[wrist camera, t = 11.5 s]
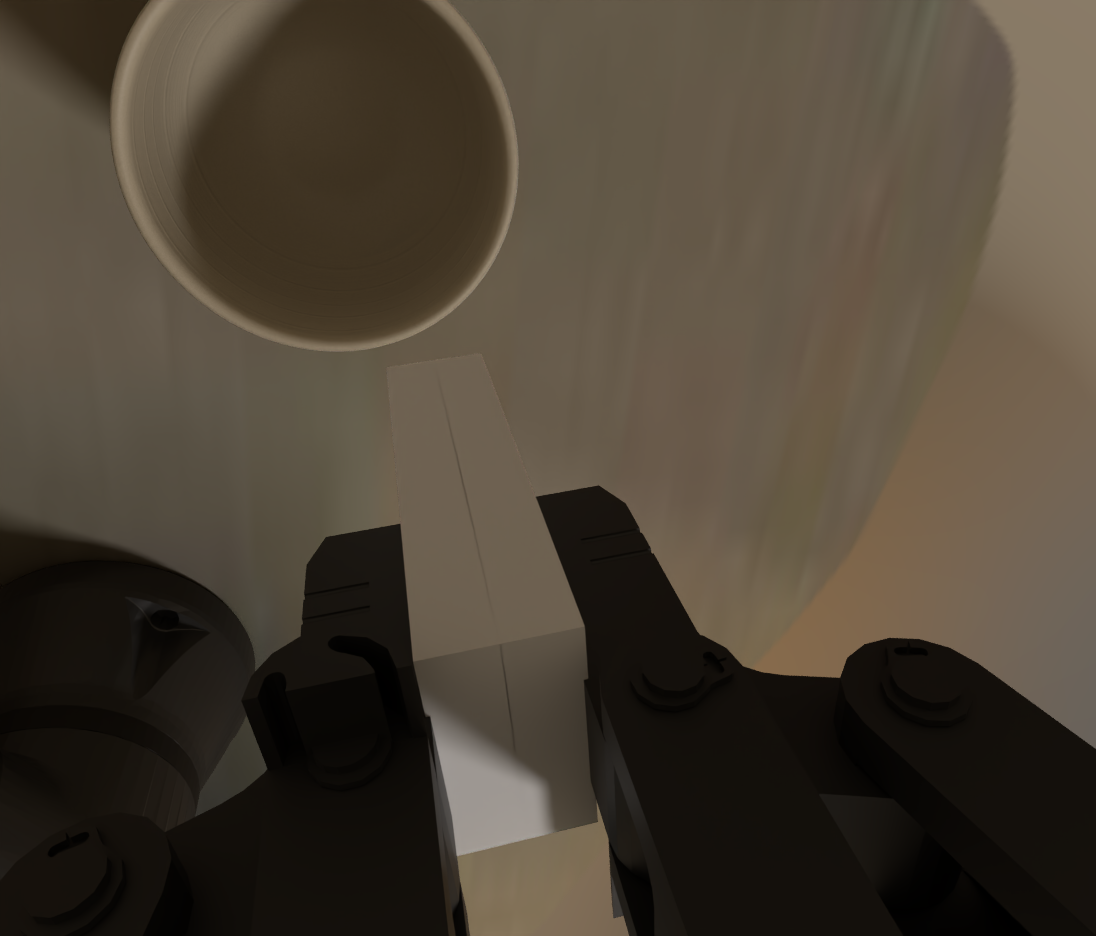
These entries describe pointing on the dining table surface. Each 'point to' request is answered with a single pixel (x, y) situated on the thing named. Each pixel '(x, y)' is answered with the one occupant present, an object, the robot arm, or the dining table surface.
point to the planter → (316, 161)
